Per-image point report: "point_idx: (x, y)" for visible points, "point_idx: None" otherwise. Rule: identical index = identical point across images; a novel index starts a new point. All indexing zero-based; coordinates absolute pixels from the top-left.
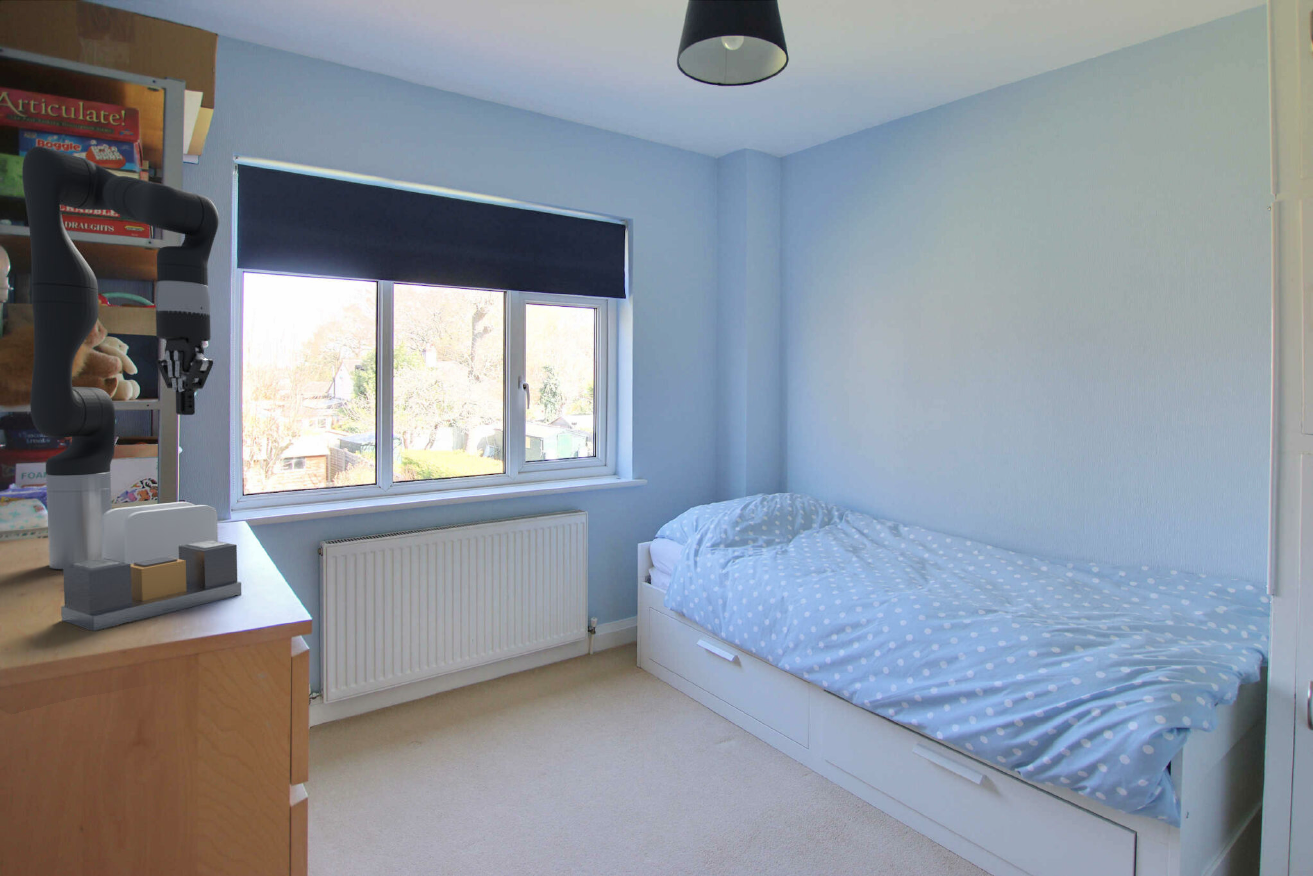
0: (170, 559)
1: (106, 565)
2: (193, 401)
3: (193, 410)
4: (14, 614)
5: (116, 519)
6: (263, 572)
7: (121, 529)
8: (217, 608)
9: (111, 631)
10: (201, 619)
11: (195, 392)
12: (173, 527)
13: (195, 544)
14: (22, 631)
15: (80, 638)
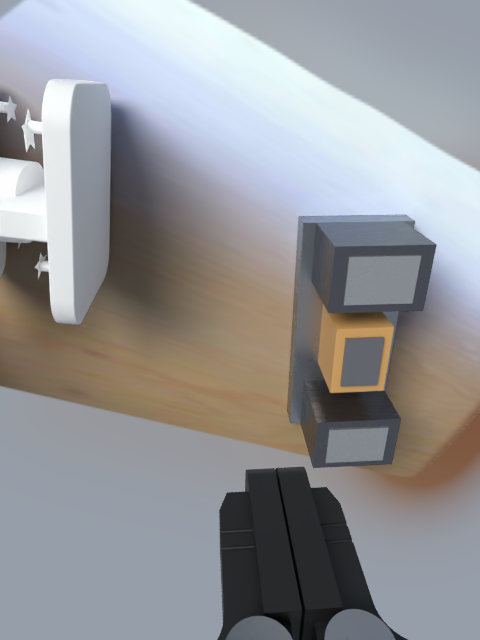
0: (375, 345)
1: (385, 444)
2: (354, 553)
3: (330, 495)
4: (197, 428)
5: None
6: (286, 72)
7: None
8: (436, 280)
9: (393, 397)
10: (461, 320)
11: (355, 610)
12: (90, 214)
13: (361, 296)
14: (292, 444)
15: None
